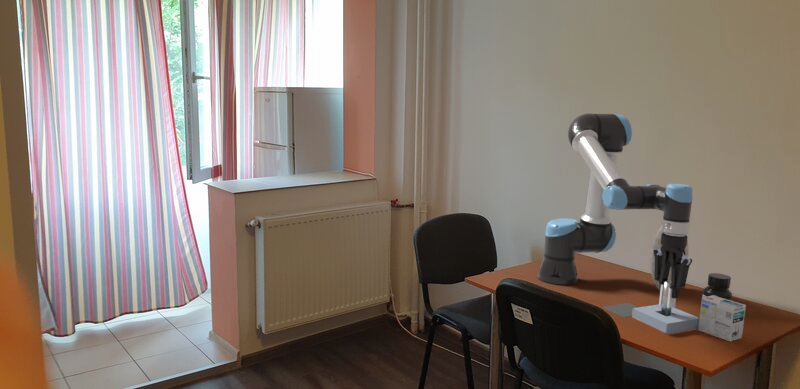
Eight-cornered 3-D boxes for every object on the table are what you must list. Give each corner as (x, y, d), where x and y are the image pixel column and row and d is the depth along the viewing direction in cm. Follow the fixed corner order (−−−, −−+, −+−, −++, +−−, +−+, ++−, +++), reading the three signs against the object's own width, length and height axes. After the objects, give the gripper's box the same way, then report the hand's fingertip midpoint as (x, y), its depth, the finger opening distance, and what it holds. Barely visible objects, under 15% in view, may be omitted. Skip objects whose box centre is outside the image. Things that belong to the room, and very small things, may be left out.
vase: (648, 281, 243) (656, 211, 238) (684, 287, 238) (692, 215, 233) (646, 290, 232) (654, 216, 227) (683, 296, 226) (692, 221, 221)
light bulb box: (742, 338, 189) (747, 304, 187) (730, 342, 185) (735, 308, 183) (709, 326, 198) (713, 294, 196) (696, 330, 194) (700, 297, 192)
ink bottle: (695, 304, 218) (699, 271, 216) (719, 304, 219) (723, 271, 217) (711, 314, 208) (715, 280, 206) (736, 314, 209) (740, 280, 207)
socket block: (631, 318, 202) (632, 308, 201) (663, 313, 208) (664, 303, 207) (665, 334, 189) (667, 323, 189) (698, 328, 195) (699, 318, 195)
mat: (600, 308, 211) (601, 306, 211) (627, 304, 216) (627, 303, 215) (622, 318, 202) (622, 317, 202) (649, 314, 207) (650, 312, 207)
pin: (658, 314, 199) (662, 281, 197) (665, 313, 200) (669, 280, 198) (666, 317, 196) (669, 284, 194) (672, 316, 197) (676, 283, 195)
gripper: (646, 229, 199) (639, 299, 203) (686, 240, 185) (678, 315, 189) (663, 227, 202) (656, 296, 206) (704, 238, 188) (695, 312, 192)
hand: (666, 305), depth 197 cm, fingers closed on pin, 2 cm apart
